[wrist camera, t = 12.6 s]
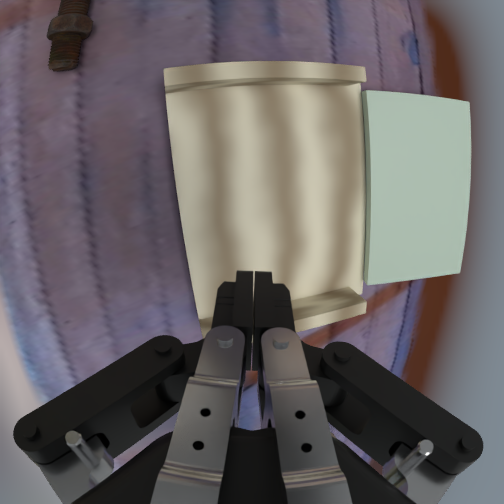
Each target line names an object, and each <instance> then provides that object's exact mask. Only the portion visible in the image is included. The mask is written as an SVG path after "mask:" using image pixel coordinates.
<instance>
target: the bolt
mask: <svg viewBox="0 0 504 504" xmlns="http://www.w3.org/2000/svg"><path fill="white" fill-rule="evenodd" d="M60 4H61V5H60V8H59V11H58V12H59V13H58V16H57V17H55V18H53V19H52V20H51V22H50V25H49V28H48V32H47V38H48V39H49V40H51V41H52V46H51V52H50V58H49V60H50V61H49V64H48V66H49V69H50V70H51V69H52V70H53V71H65V70H71V69H74V68H75V67H76V66H78V64H77V63H78V61H77V60H79V59H78V57H79V55H78V54H79V51H80V49H79V48H81V46H80V45H81V43H80V42H82V40H83V39H85V38H87V37H88V35H89V34H90V32H91V29H92V24H93V21H92V20H91V19H90V18H89V17H88V16H87V13H88V8H89V4H90V0H61V3H60Z"/></svg>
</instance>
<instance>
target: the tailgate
mask: <svg viewBox="0 0 504 504" xmlns="http://www.w3.org/2000/svg"><path fill="white" fill-rule="evenodd" d="M362 102H363V115H364V131H365V152H366V242H365V264H364V281H365V283H366V284H367V285H374V284H382V283H390V282H398V281H406V280H413V279H421V278H428V277H435V276H442V275H448V274H454V273H460V269H461V264H462V258H463V251H464V244H465V236H466V229H467V219H468V209H469V195H470V178H471V123H470V106H469V102H465V101H460V100H454V99H448V98H441V97H434V96H427V95H418V94H409V93H399V92H387V91H371V90H366V91H362Z"/></svg>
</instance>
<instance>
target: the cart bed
mask: <svg viewBox="0 0 504 504" xmlns="http://www.w3.org/2000/svg"><path fill="white" fill-rule="evenodd" d="M164 82H165V94H166V105H167V115H168V124H169V133H170V142H171V151H172V159H173V167H174V174H175V182H176V189H177V196H178V203H179V210H180V216H181V223H182V229H183V235H184V241H185V247H186V253H187V259H188V265H189V270H190V276H191V281H192V287H193V292H194V297H195V302H196V307H197V312H198V317H199V322H200V327H201V331H202V336H203V339H204V338H205V336H206V334H207V333H208V332H209V331H210V330H211V326H212V320H213V314H214V308H215V302H216V296H217V290H218V287H219V286H220V285H221V284H222V283H223V282H224V281H227V282H236V272H237V270H242V271H253V296H254V277H255V271H270V272H272V279H273V283H284V284H285V286H286V287H287V288H288V289H289V291H290V296H291V303H292V310H293V317H294V324H295V331H296V332H300V331H304V330H307V329H311V328H315V327H319V326H322V325H326V324H329V323H333V322H337V321H340V320H344V319H347V318H350V317H354V316H357V315H360V314H364V313H366V304H367V301H365V300H364V299H363V298H362V297H361V296H360V295H359V294H362V288H363V273H364V255H365V226H366V168H365V140H364V122H363V108H362V96H361V85H360V83H363V82H366V73H365V67H360V66H352V65H342V64H330V63H316V62H295V61H246V62H225V63H210V64H199V65H189V66H180V67H172V68H165V69H164ZM252 343H253V335H252Z"/></svg>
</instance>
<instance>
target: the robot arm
mask: <svg viewBox="0 0 504 504" xmlns="http://www.w3.org/2000/svg"><path fill="white" fill-rule="evenodd" d="M252 335H253V344H252ZM251 353H252V370H253V371H258V382H257V392H258V402H259V412H260V422H261V429H260V430H254V431H250V430H246V429H242V428H238V422H239V415H240V408H241V400H242V393H243V384H244V382H245V374H246V370H251ZM178 411H179V413H178V417H177V421H176V424H175V428H174V431H172V432H169V433H167V434H165V435H163V436H161V437H159V438H158V439H156V440H155V441H153V442H152V443H151V444H150V445H149V446H147V447H146V448H145V449H144V450H142V451H141V452H140V453H138V454H137V455H136V456H135V457H133V458H132V459H131V460H130V461H128V462H127V463H126V464H124V465H123V466H122V467H120V468H119V469H118V470H116V471H115V472H114V473H112V471H113V468H114V460H113V459H114V458H115V457H117V456H118V455H120V454H121V453H123V452H124V451H125V450H127V449H128V448H130V447H131V446H132V445H134V444H135V443H137V442H138V441H139V440H141V439H142V438H144V437H145V436H146V435H148V434H149V433H150V432H152V431H153V430H154V429H156V428H157V427H158V426H160V425H161V424H162V423H164V422H165V421H166V420H168V419H169V418H170V417H172V416H173V415H174V414H175V413H177V412H178ZM328 422H329V423H330V424H331V425H332V426H333V427H335V428H336V429H337V430H338V431H339V432H341V433H342V434H343V435H344V436H345V437H347V438H348V439H349V440H350V441H352V442H353V443H354V444H355V445H356V446H358V447H359V448H360V449H361V450H363V451H364V452H365V453H366V454H368V455H369V456H370V457H371V458H373V459H374V460H375V461H377V462H378V463H379V464H380V465H382V466H383V476H382V475H380V474H379V473H378V472H377V471H376V470H375V469H373V468H372V467H371V466H370V465H369V464H367V463H366V462H365V461H364V460H363V459H362V458H361V457H359V456H358V455H357V454H356V453H355V452H354V451H352V450H351V449H350V448H349V447H348V446H347V445H346V444H344V443H343V442H341V441H340V440H338V439H336V438H334V437H332V436H331V432H330V428H329V424H328ZM13 432H14V433H13V436H14V440H15V442H16V444H17V445H18V446H19V448H21V450H23V451H24V452H25V453H26V454H27V455H28V457H29V458H30V459H31V460H32V461H33V462H34V463H35V464H36V465H37V466H38V467H40V469H41V471H42V472H43V474H44V476H45V477H46V479H47V481H48V482H49V484H50V485H51V487H52V488H53V490H54V491H55V493H56V494H57V495H58V497H59V498H60V500H61V502H62V503H63V504H438V502H439V501H440V500H441V498H442V497H443V495H444V494H445V492H446V491H447V489H448V488H449V486H450V485H451V483H452V482H453V480H454V479H455V477H456V476H457V475H459V474H460V473H461V472H462V471H464V470H465V469H466V468H467V467H469V466H470V465H471V464H472V463H473V462H475V461H476V460H477V459H478V458H479V457H480V456H481V454H482V451H483V441H482V438H481V436H480V435H479V433H478V432H477V431H475V430H474V429H473V428H471V427H470V426H468V425H467V424H465V423H464V422H462V421H461V420H459V419H458V418H456V417H455V416H453V415H452V414H451V413H449V412H448V411H446V410H445V409H443V408H442V407H440V406H439V405H437V404H436V403H435V402H433V401H432V400H430V399H429V398H427V397H426V396H424V395H423V394H421V393H420V392H419V391H417V390H416V389H414V388H413V387H411V386H410V385H409V384H407V383H406V382H404V381H403V380H401V379H400V378H399V377H397V376H396V375H394V374H393V373H391V372H390V371H389V370H387V369H386V368H384V367H383V366H381V365H380V364H379V363H377V362H376V361H374V360H373V359H371V358H370V357H369V356H367V355H366V354H364V353H363V352H362V351H360V350H359V349H357V348H356V347H355V346H353V345H351V344H349V343H346V342H332V343H330V344H328V345H327V346H326V347H325V348H324V349H321V348H317V347H313V346H310V345H308V344H306V343H304V342H303V341H301V340H300V337H299V336H298V335H297V334H296V331H295V324H294V317H293V310H292V303H291V296H290V291H289V289H288V288H287V287H286V286H285V284H284V283H273V279H272V272H270V271H255V277H254V296H253V271H242V270H237V272H236V282H227V281H224V282H223V283H222V284H221V285H220V286H219V287H218V290H217V296H216V302H215V308H214V314H213V320H212V326H211V330H210V331H209V332H208V333H207V334H206V336H205V338H204V339H202V340H200V341H198V342H194V343H189V344H182V343H181V341H180V340H179V339H177V338H175V337H173V336H168V335H162V336H157V337H154V338H152V339H150V340H149V341H147V342H146V343H144V344H142V345H141V346H139V347H138V348H136V349H134V350H133V351H131V352H130V353H128V354H126V355H125V356H123V357H121V358H120V359H118V360H117V361H115V362H113V363H112V364H110V365H109V366H107V367H105V368H104V369H102V370H100V371H99V372H97V373H95V374H94V375H92V376H91V377H89V378H87V379H86V380H84V381H82V382H81V383H79V384H77V385H76V386H74V387H72V388H71V389H69V390H67V391H66V392H64V393H62V394H61V395H59V396H57V397H56V398H54V399H52V400H51V401H49V402H47V403H46V404H44V405H42V406H41V407H39V408H37V409H36V410H34V411H32V412H31V413H29V414H27V415H26V416H24V417H22V418H21V419H20V420H19V421H18V422H17V423H16V425H15V428H14V431H13ZM111 473H112V474H111ZM110 474H111V475H110Z"/></svg>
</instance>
